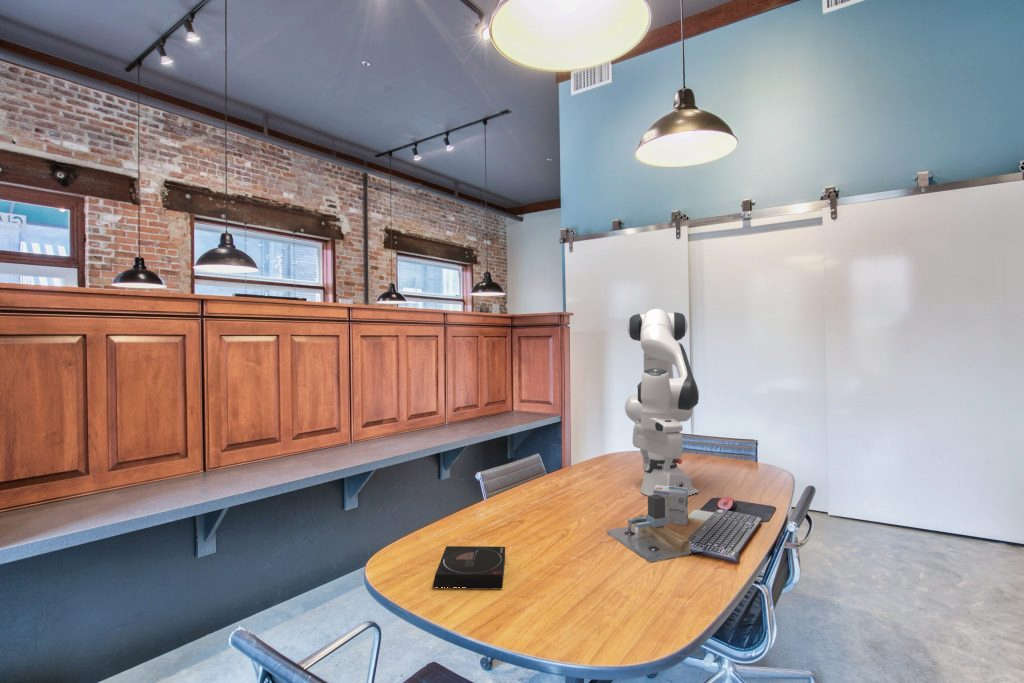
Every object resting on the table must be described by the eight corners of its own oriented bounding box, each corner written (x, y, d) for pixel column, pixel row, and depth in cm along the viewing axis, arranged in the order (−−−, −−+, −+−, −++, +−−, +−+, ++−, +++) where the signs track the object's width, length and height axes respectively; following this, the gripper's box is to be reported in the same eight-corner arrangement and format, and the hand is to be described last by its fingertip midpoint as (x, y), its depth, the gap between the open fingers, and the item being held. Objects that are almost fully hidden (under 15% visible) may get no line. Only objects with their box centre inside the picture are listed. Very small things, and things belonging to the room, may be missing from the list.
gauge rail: (642, 524, 159) (642, 511, 159) (689, 551, 139) (689, 536, 139) (619, 528, 156) (619, 514, 156) (663, 556, 136) (663, 541, 136)
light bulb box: (688, 519, 167) (688, 487, 166) (686, 526, 160) (686, 492, 160) (655, 514, 171) (655, 483, 171) (652, 521, 165) (652, 489, 165)
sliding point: (658, 530, 153) (658, 494, 153) (666, 535, 149) (666, 497, 149) (631, 535, 150) (631, 497, 150) (639, 540, 146) (639, 501, 146)
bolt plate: (654, 525, 161) (654, 521, 161) (702, 552, 140) (702, 548, 140) (606, 533, 155) (606, 529, 155) (649, 562, 134) (649, 558, 134)
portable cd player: (444, 560, 137) (444, 546, 137) (505, 560, 137) (505, 546, 137) (432, 590, 121) (432, 574, 121) (502, 591, 120) (502, 574, 120)
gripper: (627, 417, 159) (627, 460, 159) (668, 427, 140) (668, 476, 140) (644, 416, 161) (644, 459, 161) (686, 426, 142) (686, 474, 142)
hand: (656, 467), depth 150 cm, fingers open, 8 cm apart
